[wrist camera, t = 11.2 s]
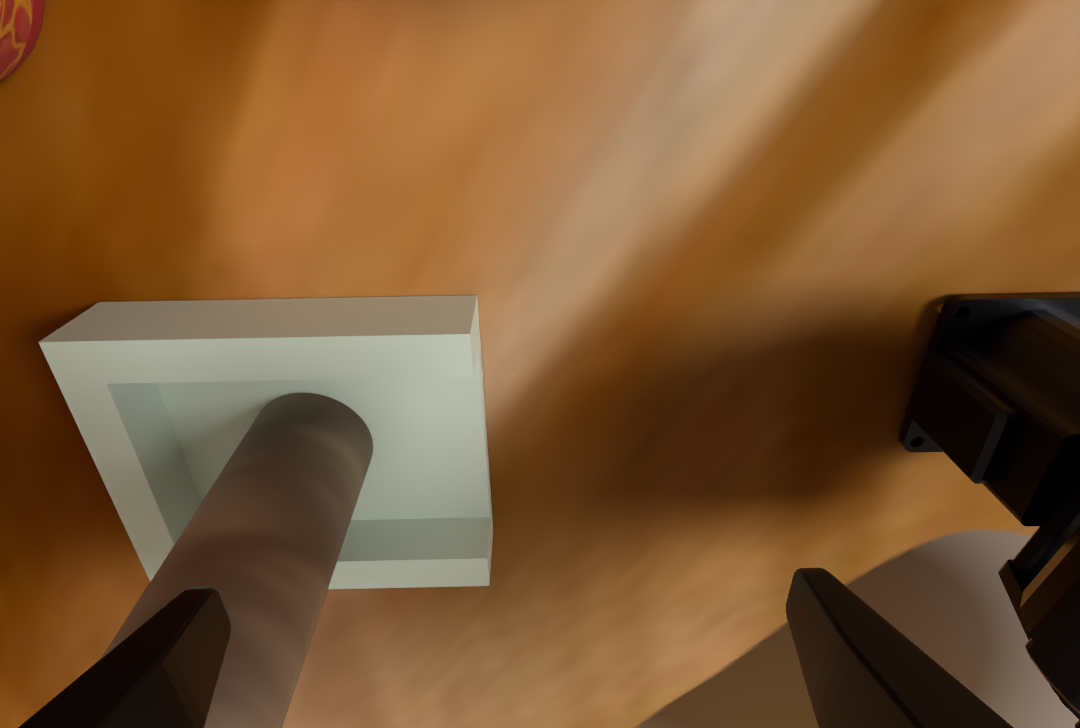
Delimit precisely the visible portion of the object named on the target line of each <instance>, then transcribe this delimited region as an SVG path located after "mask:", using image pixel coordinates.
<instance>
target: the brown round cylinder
mask: <svg viewBox="0 0 1080 728" xmlns="http://www.w3.org/2000/svg"><path fill="white" fill-rule="evenodd" d="M372 454H373V440H372V436H371V433H370V431H369V429H368V427H367V425H366V424H365V422H364V421H363V420H362V418H361V417H360V416H359V415H358V414H357V413H356V412H355V411H353V410H352V409H351V408H350V407H348V406H346V405H345V404H343V403H341V402H339V401H337V400H335V399H333V398H330V397H327V396H323V395H319V394H313V393H294V394H289V395H285V396H282V397H279V398H277V399H275V400H273V401H271V402H270V403H268V404H267V405H266V406H265V407H264V408H263V409H262V410H261V411H260V413H259V414H258V416H257V417H256V419H255V420H254V422H253V423H252V425H251V426H250V428H249V430H248V431H247V433H246V434H245V436H244V437H243V439H242V440H241V442H240V444H239V445H238V447H237V448H236V450H235V451H234V453H233V454H232V456H231V458H230V459H229V461H228V462H227V464H226V465H225V467H224V468H223V470H222V472H221V473H220V475H219V476H218V478H217V479H216V481H215V482H214V484H213V486H212V487H211V489H210V490H209V492H208V493H207V495H206V496H205V498H204V499H203V501H202V503H201V504H200V506H199V507H198V509H197V510H196V512H195V513H194V515H193V517H192V518H191V520H190V521H189V523H188V524H187V526H186V527H185V529H184V531H183V532H182V534H181V535H180V537H179V538H178V540H177V541H176V543H175V545H174V546H173V548H172V549H171V551H170V552H169V554H168V555H167V557H166V559H165V560H164V562H163V563H162V565H161V566H160V568H159V569H158V571H157V573H156V574H155V576H154V577H153V579H152V580H151V582H150V583H149V585H148V587H147V588H146V590H145V591H144V593H143V594H142V596H141V597H140V599H139V601H138V602H137V604H136V605H135V607H134V608H133V610H132V611H131V613H130V615H129V616H128V618H127V619H126V621H125V622H124V624H123V625H122V627H121V629H120V630H119V632H118V633H117V635H116V636H115V638H114V639H113V641H112V643H111V644H110V646H109V647H108V649H107V650H106V652H105V653H104V655H103V657H104V656H105V655H106V654H107V653H109V652H110V651H111V650H112V649H114V648H115V647H116V646H117V645H118V644H120V643H121V642H122V641H123V640H124V639H126V638H127V637H128V636H129V635H130V634H132V633H133V632H134V631H135V630H136V629H138V628H139V627H140V626H141V625H142V624H144V623H145V622H146V621H147V620H148V619H150V618H151V617H152V616H153V615H154V614H156V613H157V612H158V611H159V610H160V609H162V608H163V607H164V606H165V605H167V604H168V603H169V602H170V601H171V600H173V599H174V598H175V597H176V596H177V595H179V594H180V593H181V592H182V591H184V590H186V589H187V588H191V587H215V588H216V589H217V590H218V591H219V593H220V595H221V598H222V600H223V603H224V605H225V608H226V611H227V613H228V616H229V618H230V621H231V635H230V639H229V643H228V646H227V650H226V653H225V657H224V660H223V664H222V667H221V671H220V674H219V678H218V681H217V685H216V688H215V692H214V695H213V699H212V702H211V706H210V709H209V713H208V716H207V719H206V723H205V726H204V728H282V725H283V722H284V719H285V716H286V713H287V710H288V707H289V704H290V701H291V698H292V695H293V692H294V689H295V686H296V683H297V680H298V677H299V674H300V671H301V668H302V665H303V662H304V659H305V656H306V653H307V650H308V647H309V644H310V641H311V638H312V635H313V632H314V629H315V626H316V623H317V620H318V617H319V614H320V611H321V608H322V605H323V602H324V599H325V596H326V593H327V590H328V587H329V584H330V581H331V578H332V575H333V572H334V569H335V566H336V563H337V560H338V557H339V554H340V551H341V548H342V545H343V542H344V539H345V536H346V533H347V530H348V527H349V524H350V521H351V518H352V515H353V512H354V509H355V506H356V503H357V500H358V497H359V494H360V491H361V488H362V485H363V482H364V479H365V476H366V473H367V470H368V467H369V464H370V461H371V458H372ZM103 657H102V658H103Z"/></svg>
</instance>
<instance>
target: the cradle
mask: <svg viewBox="0 0 1080 728" xmlns="http://www.w3.org/2000/svg"><path fill="white" fill-rule="evenodd" d="M39 345H40V347H41V349H42V351H43V353H44V355H45V357H46V360H47V362H48V364H49V366H50V368H51V370H52V372H53V375H54V377H55V379H56V381H57V383H58V385H59V387H60V390H61V392H62V394H63V396H64V398H65V400H66V402H67V405H68V407H69V409H70V411H71V413H72V415H73V417H74V420H75V422H76V424H77V426H78V428H79V430H80V432H81V435H82V437H83V439H84V441H85V443H86V445H87V447H88V450H89V452H90V454H91V456H92V458H93V460H94V462H95V465H96V467H97V469H98V471H99V473H100V475H101V477H102V480H103V482H104V484H105V486H106V488H107V490H108V493H109V495H110V497H111V499H112V501H113V503H114V505H115V508H116V510H117V512H118V514H119V516H120V518H121V520H122V523H123V525H124V527H125V529H126V531H127V533H128V535H129V538H130V540H131V542H132V544H133V546H134V548H135V550H136V553H137V555H138V557H139V559H140V561H141V563H142V565H143V568H144V570H145V572H146V574H147V576H148V578H149V580H150V582H151V580H152V579H153V577H154V576H155V574H156V573H157V571H158V569H159V568H160V566H161V565H162V563H163V562H164V560H165V559H166V557H167V555H168V554H169V552H170V551H171V549H172V548H173V546H174V545H175V543H176V541H177V540H178V538H179V537H180V535H181V534H182V532H183V531H184V529H185V527H186V526H187V524H188V523H189V521H190V520H191V518H192V517H193V515H194V513H195V512H196V510H197V509H198V507H199V506H200V504H201V503H202V501H203V499H204V498H205V496H206V495H207V493H208V492H209V490H210V489H211V487H212V486H213V484H214V482H215V481H216V479H217V478H218V476H219V475H220V473H221V472H222V470H223V468H224V467H225V465H226V464H227V462H228V461H229V459H230V458H231V456H232V454H233V453H234V451H235V450H236V448H237V447H238V445H239V444H240V442H241V440H242V439H243V437H244V436H245V434H246V433H247V431H248V430H249V428H250V426H251V425H252V423H253V422H254V420H255V419H256V417H257V416H258V414H259V413H260V411H261V410H262V409H263V408H264V407H265V406H266V405H267V404H268V403H270V402H271V401H273V400H275V399H277V398H279V397H282V396H285V395H289V394H294V393H313V394H319V395H323V396H327V397H330V398H333V399H335V400H337V401H339V402H341V403H343V404H345V405H346V406H348V407H350V408H351V409H352V410H353V411H355V412H356V413H357V414H358V415H359V416H360V417H361V418H362V420H363V421H364V422H365V424H366V425H367V427H368V429H369V431H370V433H371V436H372V440H373V454H372V458H371V461H370V464H369V467H368V470H367V473H366V476H365V479H364V482H363V485H362V488H361V491H360V494H359V497H358V500H357V503H356V506H355V509H354V512H353V515H352V518H351V521H350V524H349V527H348V530H347V533H346V536H345V539H344V542H343V545H342V548H341V551H340V554H339V557H338V560H337V563H336V566H335V569H334V572H333V575H332V578H331V581H330V584H329V587H328V589H367V588H413V587H458V586H489V585H490V570H491V556H492V541H493V519H492V504H491V489H490V475H489V460H488V446H487V431H486V416H485V402H484V387H483V373H482V358H481V343H480V329H479V314H478V300H477V295H454V296H400V297H346V298H292V299H237V300H183V301H129V302H98V303H97V304H95V305H94V306H92V307H91V308H89V309H88V310H86V311H85V312H83V313H82V314H80V315H79V316H77V317H76V318H74V319H73V320H71V321H70V322H68V323H67V324H65V325H64V326H62V327H61V328H59V329H58V330H56V331H55V332H53V333H51V334H50V335H48V336H47V337H45V338H44V339H42V340H41V341H39Z"/></svg>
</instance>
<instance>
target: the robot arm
mask: <svg viewBox="0 0 1080 728" xmlns="http://www.w3.org/2000/svg"><path fill="white" fill-rule="evenodd" d="M961 307H963V310H962V311H961V312H960V313H958V314H956V312H957V310H958V309H960V308H961ZM955 314H956V315H955ZM915 437H917V438H916V439H915V440H913V441H911V440H912V439H914V438H915ZM899 442H900V444H901V445H902V446H903V447H904V448H905V449H906V450H907V451H909V452H944V453H945V454H946V455H947V456H948V457H949V458H950V459H951V460H952V461H953V462H954V463H955V464H956V465H957V466H958V467H959V468H960V469H961V470H962V472H963V473H964V474H965V475H966V476H967V477H968V478H969V479H970V480H971V481H972V482H974V483H975V484H983V485H984V486H985V487H986V488H987V489H988V490H989V491H990V492H991V493H992V494H993V495H994V496H995V497H996V498H997V499H998V500H999V501H1000V502H1001V503H1002V504H1003V505H1004V506H1005V507H1006V508H1007V509H1008V510H1009V511H1010V512H1011V513H1012V514H1013V515H1014V516H1015V517H1016V518H1017V519H1018V521H1019V522H1020V523H1021V524H1022V525H1024V526H1040V527H1039V528H1038V529H1037V531H1036V532H1035V533H1034V534H1033V536H1032V537H1031V538H1030V539H1029V541H1028V542H1027V543H1026V544H1025V546H1024V547H1023V548H1022V549H1021V550H1020V552H1019V553H1018V554H1017V555H1016V557H1015V558H1014V559H1013V560H1008V561H1007V562H1006V563H1005V564H1004V566H1003V567H1002V568H1001V569H1000V571H999V575H1000V578H1001V580H1002V582H1003V584H1004V587H1005V589H1006V591H1007V593H1008V595H1009V598H1010V600H1011V602H1012V605H1013V607H1014V609H1015V611H1016V613H1017V616H1018V618H1019V620H1020V622H1021V624H1022V627H1023V629H1024V631H1025V633H1026V635H1027V638H1028V640H1029V641H1028V642H1027V643H1026V649H1027V651H1028V654H1029V656H1030V658H1031V659H1032V661H1033V662H1034V663H1035V665H1036V666H1037V667H1038V669H1039V670H1040V672H1041V673H1042V674H1043V676H1044V677H1045V679H1046V680H1047V681H1048V682H1049V684H1050V686H1051V687H1052V689H1053V690H1054V692H1055V693H1056V694H1057V695H1058V696H1059V698H1060V700H1061V701H1062V703H1063V704H1064V705H1065V706H1066V707H1067V708H1068V709H1069V710H1070V711H1071V712H1072V713H1073V714H1074V715H1075V716H1076V717H1077V718H1078V719H1079V721H1078V722H1077V723H1076V724H1075V728H1080V293H1047V294H993V295H959V296H954V297H952V298H950V299H949V300H948V301H947V302H946V303H945V304H944V306H943V307H942V310H941V312H940V315H939V318H938V321H937V324H936V327H935V330H934V333H933V336H932V339H931V342H930V345H929V348H928V351H927V354H926V356H925V358H924V360H923V363H922V366H921V369H920V372H919V375H918V378H917V381H916V384H915V387H914V390H913V393H912V396H911V399H910V402H909V405H908V408H907V413H906V416H905V419H904V422H903V425H902V428H901V431H900V434H899ZM786 615H787V620H788V624H789V627H790V631H791V634H792V638H793V641H794V645H795V648H796V652H797V655H798V659H799V662H800V666H801V670H802V673H803V677H804V680H805V684H806V687H807V691H808V694H809V698H810V701H811V704H812V708H813V711H814V714H815V718H816V720H817V723H818V726H819V728H1013V727H1012V726H1011V725H1010V724H1009V723H1007V722H1006V721H1005V720H1004V719H1003V718H1001V717H1000V716H999V715H998V714H996V713H995V712H994V711H993V710H992V709H991V708H990V707H988V706H987V705H986V704H985V703H984V702H982V701H981V700H980V699H979V698H978V697H976V696H975V695H974V694H973V693H972V692H971V691H969V690H968V689H967V688H966V687H965V686H963V685H962V684H961V683H960V682H959V681H958V680H956V679H955V678H954V677H953V676H952V675H950V674H949V673H948V672H947V671H946V670H944V669H943V668H942V667H941V666H940V665H938V664H937V663H936V662H935V661H934V660H933V659H931V658H930V657H929V656H928V655H926V654H925V653H924V652H923V651H922V650H921V649H920V648H918V647H917V646H916V645H915V644H914V643H912V642H911V641H910V640H909V639H908V638H906V637H905V636H904V635H903V634H902V633H901V632H899V631H898V630H897V629H896V628H895V627H893V626H892V625H891V624H890V623H889V622H887V621H886V620H885V619H884V618H883V617H881V616H880V615H879V614H878V613H877V612H876V611H874V610H873V609H872V608H871V607H870V606H869V605H867V604H866V603H865V602H864V601H863V600H861V599H860V598H859V597H858V596H857V595H855V594H854V593H853V592H852V591H851V590H850V589H848V588H847V587H846V586H845V585H844V584H842V583H841V582H840V581H839V580H838V579H836V578H835V577H834V576H833V575H832V574H831V573H829V572H828V571H827V570H825V569H822V568H800V569H798V570H796V572H795V573H794V576H793V579H792V583H791V587H790V591H789V594H788V598H787V602H786ZM230 635H231V621H230V618H229V616H228V613H227V611H226V608H225V605H224V603H223V600H222V598H221V595H220V593H219V591H218V590H217V589H216V588H215V587H191V588H187V589H186V590H184V591H182V592H181V593H180V594H179V595H177V596H176V597H175V598H174V599H173V600H171V601H170V602H169V603H168V604H167V605H165V606H164V607H163V608H162V609H160V610H159V611H158V612H157V613H156V614H154V615H153V616H152V617H151V618H150V619H148V620H147V621H146V622H145V623H144V624H142V625H141V626H140V627H139V628H138V629H136V630H135V631H134V632H133V633H132V634H130V635H129V636H128V637H127V638H126V639H124V640H123V641H122V642H121V643H120V644H118V645H117V646H116V647H115V648H114V649H112V650H111V651H110V652H109V653H107V654H106V655H105V656H104V657H103V658H101V659H100V660H99V661H98V662H97V663H95V664H94V665H93V666H92V667H91V668H89V669H88V670H87V671H86V672H85V673H83V674H82V675H81V676H80V677H79V678H77V679H76V680H75V681H74V682H73V683H71V684H70V685H69V686H68V687H67V688H65V689H64V690H63V691H62V692H61V693H59V694H58V695H57V696H56V697H55V698H53V699H52V700H51V701H50V702H48V703H47V704H46V705H45V706H44V707H42V708H41V709H40V710H39V711H38V712H36V713H35V714H34V715H33V716H32V717H30V718H29V719H28V720H27V721H26V722H24V723H23V724H22V725H21V726H20V727H18V728H204V726H205V723H206V719H207V716H208V713H209V709H210V706H211V702H212V699H213V695H214V692H215V688H216V685H217V681H218V678H219V674H220V671H221V667H222V664H223V660H224V657H225V653H226V650H227V646H228V643H229V639H230Z"/></svg>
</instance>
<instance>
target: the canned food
mask: <svg viewBox="0 0 1080 728" xmlns="http://www.w3.org/2000/svg"><path fill="white" fill-rule="evenodd" d="M44 4H45V0H0V80H2V79H3V78H5V77H6V76H7V75H9V74H10V73H11V72H13V71H14V70H15V69H16V68H18V67H19V66H20V65H21V64H22V62H23V61H24V60H25V58H26V57H27V56H28V55H29V53H30V52H31V51H32V50H33V47H34V45H35V42H36V40H37V37H38V35H39V32H40V30H41V27H42V20H43V12H44Z"/></svg>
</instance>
